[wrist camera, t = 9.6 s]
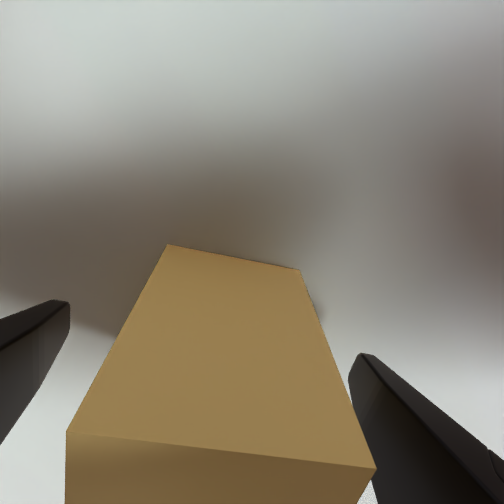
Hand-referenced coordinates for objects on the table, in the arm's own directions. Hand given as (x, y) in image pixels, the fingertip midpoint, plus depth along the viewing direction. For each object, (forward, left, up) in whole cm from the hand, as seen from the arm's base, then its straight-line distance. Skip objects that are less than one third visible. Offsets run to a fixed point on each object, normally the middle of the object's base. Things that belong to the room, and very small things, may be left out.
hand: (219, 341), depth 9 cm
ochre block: (0, 0, -1) cm, 1 cm away
